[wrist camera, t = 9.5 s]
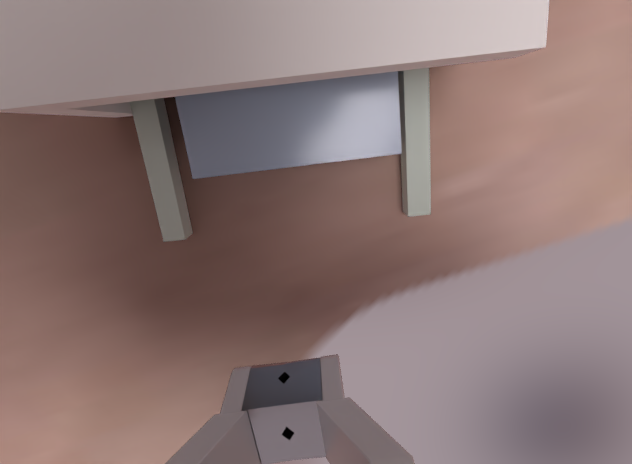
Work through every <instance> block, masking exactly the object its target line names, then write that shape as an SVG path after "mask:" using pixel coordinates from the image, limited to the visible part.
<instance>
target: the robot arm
mask: <svg viewBox="0 0 632 464" xmlns="http://www.w3.org/2000/svg"><path fill="white" fill-rule="evenodd" d="M320 457H326V458H327V460H328V462H329V463H330V464H415V463H414V460H413V457H412V456H411V455H410V454H409V453H408V452H407V451H406V450H405V449H404V448H403V447H402V446H401V445H400V444H399V443H398V442H396V441H395V440H394V439H393V438H392V437H391V436H390V435H389V434H388V433H387V432H386V431H385V430H384V429H383V428H382V427H380V426H379V425H378V424H377V423H376V422H375V421H374V420H373V419H372V418H371V417H370V416H369V415H368V414H367V413H366V412H365V411H363V410H362V409H361V408H360V407H359V406H358V405H357V404H356V403H355V402H354V401H353V400H352V399H351V398H344V391H343V384H342V376H341V369H340V362H339V356H338V355H337V354H336V355H330V356H324V357H321V358H313V359H306V360H299V361H291V362H282V363H273V364H263V365H254V366H247V367H239V368H234V370H233V371H232V373H231V376H230V380H229V383H228V387H227V390H226V394H225V397H224V401H223V404H222V408H221V411H220V414H217V415H214V416H213V417H212V418H211V419H210V420H209V421H208V422H207V423H206V424H205V425H204V426H203V427H202V428H201V429H200V430H199V431H198V432H197V433H196V434H195V435H194V436H193V437H192V438H191V439H190V440H189V441H187V442H186V443H185V444H184V445H183V446H182V447H181V448H180V449H179V450H178V451H177V452H176V453H175V454H174V455H173V456H172V457H171V458H170V459H169V460H168V461H167V462H166V463H165V464H271V463H277V462H283V461H290V460H298V459H309V458H320Z"/></svg>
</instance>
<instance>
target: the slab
mask: <svg viewBox="0 0 632 464" xmlns="http://www.w3.org/2000/svg"><path fill="white" fill-rule="evenodd" d="M175 100H176V104H177V109H178V114H179V118H180V123H181V127H182V132H183V136H184V141H185V146H186V150H187V155H188V159H189V164H190V168H191V173H192V178H193V179H198V178H206V177H214V176H222V175H230V174H239V173H247V172H255V171H263V170H271V169H280V168H288V167H296V166H304V165H312V164H321V163H329V162H337V161H345V160H353V159H362V158H370V157H378V156H386V155H395V154H402V147H401V127H400V106H399V85H398V71H395V72H386V73H377V74H368V75H360V76H351V77H342V78H333V79H325V80H316V81H307V82H298V83H290V84H281V85H272V86H263V87H255V88H246V89H237V90H228V91H220V92H211V93H202V94H193V95H184V96H176V97H175Z"/></svg>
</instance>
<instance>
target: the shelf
mask: <svg viewBox="0 0 632 464" xmlns="http://www.w3.org/2000/svg"><path fill="white" fill-rule="evenodd" d="M548 12H549V0H0V112H3V113H25V114H47V115H69V116H91V117H113V118H119V117H127V116H133V118H134V122H135V126H136V130H137V134H138V138H139V142H140V147H141V151H142V155H143V159H144V163H145V167H146V171H147V175H148V179H149V184H150V188H151V192H152V196H153V200H154V204H155V208H156V212H157V216H158V221H159V225H160V229H161V233H162V237H163V241H164V242H167V241H177V240H186V239H187V238H188V237H189V236H190V235H191V234H193V231H192V227H191V222H190V217H189V213H188V208H187V203H186V199H185V194H184V190H183V185H182V180H181V176H180V171H179V166H178V162H177V157H176V153H175V148H174V143H173V139H172V134H171V129H170V125H169V120H168V116H167V111H166V106H165V102H164V98H167V97H176V96H184V95H193V94H202V93H211V92H220V91H228V90H237V89H246V88H255V87H263V86H272V85H281V84H290V83H298V82H307V81H316V80H325V79H333V78H342V77H351V76H360V75H368V74H377V73H386V72H395V71H398V85H399V106H400V127H401V147H402V154H401V176H402V204H403V212H404V213H405V214H406V215H407V216H408V217H410V216H420V215H429V214H431V180H430V97H429V68H430V67H439V66H447V65H456V64H465V63H474V62H482V61H491V60H500V59H509V58H516V57H519V56H522V55H525V54H527V53H530V52H533V51H536V50H539V49H542V48H545V47H546V39H547V25H548Z"/></svg>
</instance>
